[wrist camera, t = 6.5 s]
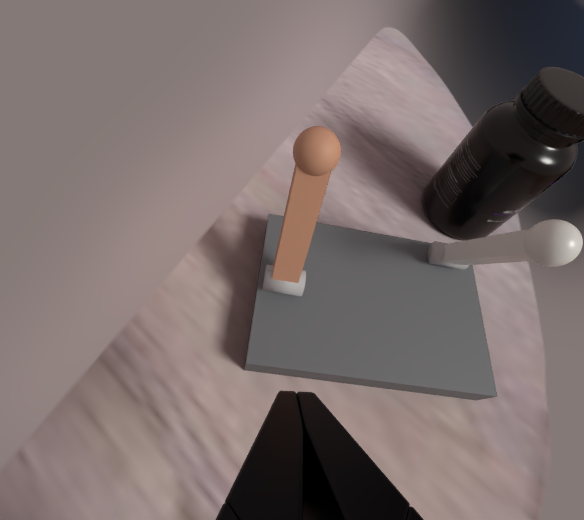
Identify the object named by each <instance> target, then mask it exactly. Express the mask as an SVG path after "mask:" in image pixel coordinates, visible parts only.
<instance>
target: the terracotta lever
mask: <svg viewBox="0 0 584 520" xmlns="http://www.w3.org/2000/svg"><path fill="white" fill-rule="evenodd" d="M340 155H341V147H340V143H339V140H338V138H337V137H336V135H335V134H334V133H333V132H332V131H331V130H329V129H327V128H325V127H320V126H315V127H310V128H308V129H306V130H304V131H303V132H302V133H301V134H300V135H299V136H298V137H297V139H296V141H295V143H294V147H293V157H294V160H295V163H296V164H295V168H294V173H293V177H292V182H291V187H290V191H289V196H288V200H287V205H286V209H285V214H284V219H283V223H282V228H281V232H280V237H279V241H278V246H277V251H276V255H275V260H274V264H273V265H267V266H266V270H265V276H264V282H263V291H270V292H276V293H282V294H289V295H295V296H302V295H303V292H304V287H305V281H306V271H303V266H304V263H305V259H306V256H307V253H308V249H309V246H310V242H311V239H312V236H313V232H314V229H315V225H316V222H317V219H318V215H319V212H320V208H321V205H322V202H323V198H324V195H325V191H326V188H327V185H328V181H329V178H330V174H331V171H332V170H333V169H334V168H335V167H336V165H337V164H338V162H339V159H340Z"/></svg>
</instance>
